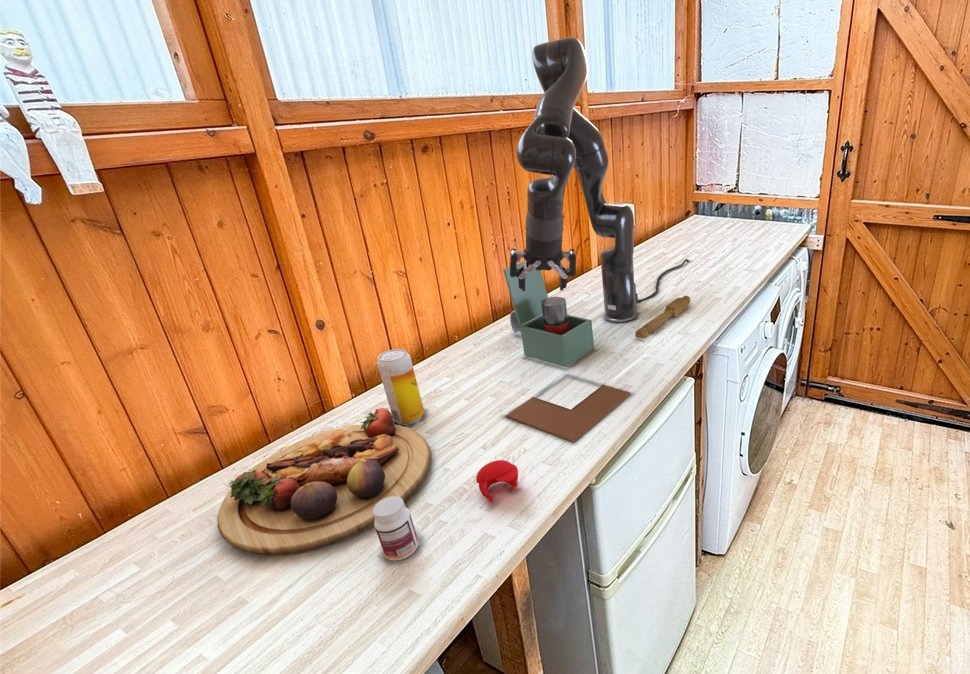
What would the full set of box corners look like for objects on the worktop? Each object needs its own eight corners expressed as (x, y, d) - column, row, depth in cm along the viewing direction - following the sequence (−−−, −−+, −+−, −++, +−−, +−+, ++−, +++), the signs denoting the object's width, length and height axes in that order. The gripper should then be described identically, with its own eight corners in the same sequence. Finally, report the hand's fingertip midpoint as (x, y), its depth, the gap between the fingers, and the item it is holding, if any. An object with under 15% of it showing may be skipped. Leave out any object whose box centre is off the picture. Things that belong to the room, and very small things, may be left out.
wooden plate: (364, 416, 110) (353, 382, 107) (469, 460, 96) (461, 423, 92) (184, 513, 85) (162, 473, 82) (289, 593, 71) (268, 549, 67)
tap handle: (634, 328, 140) (683, 293, 163) (634, 339, 141) (683, 302, 164) (643, 331, 138) (692, 294, 162) (644, 341, 140) (692, 304, 163)
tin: (558, 344, 138) (552, 295, 132) (576, 349, 135) (570, 298, 129) (542, 353, 133) (535, 303, 127) (560, 358, 130) (554, 307, 124)
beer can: (431, 412, 111) (415, 349, 105) (410, 428, 106) (393, 363, 99) (408, 408, 113) (391, 346, 106) (387, 423, 108) (368, 359, 101)
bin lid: (537, 256, 133) (525, 257, 135) (504, 269, 124) (492, 270, 126) (551, 309, 138) (539, 309, 140) (520, 325, 129) (508, 325, 131)
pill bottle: (391, 538, 79) (377, 495, 76) (423, 535, 79) (410, 492, 76) (379, 563, 75) (363, 519, 71) (413, 560, 75) (399, 516, 72)
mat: (567, 375, 124) (566, 373, 123) (630, 394, 115) (630, 392, 115) (505, 417, 108) (505, 415, 108) (573, 442, 100) (573, 440, 99)
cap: (469, 499, 86) (462, 471, 84) (490, 476, 91) (485, 449, 89) (511, 510, 84) (505, 480, 81) (530, 485, 89) (525, 457, 86)
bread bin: (594, 350, 135) (591, 319, 132) (565, 369, 126) (562, 337, 123) (554, 340, 142) (550, 310, 138) (524, 357, 133) (519, 326, 129)
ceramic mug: (550, 331, 148) (547, 305, 144) (526, 340, 142) (522, 314, 139) (529, 322, 154) (525, 297, 151) (505, 330, 149) (501, 305, 146)
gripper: (576, 219, 112) (571, 277, 123) (508, 218, 108) (509, 278, 119) (581, 240, 107) (575, 299, 118) (509, 239, 103) (510, 300, 114)
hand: (542, 288), depth 119 cm, fingers open, 8 cm apart
